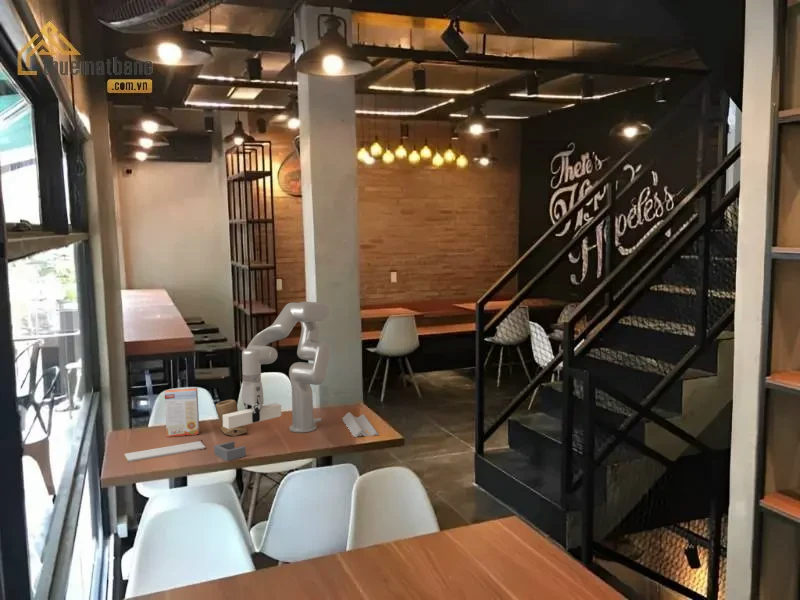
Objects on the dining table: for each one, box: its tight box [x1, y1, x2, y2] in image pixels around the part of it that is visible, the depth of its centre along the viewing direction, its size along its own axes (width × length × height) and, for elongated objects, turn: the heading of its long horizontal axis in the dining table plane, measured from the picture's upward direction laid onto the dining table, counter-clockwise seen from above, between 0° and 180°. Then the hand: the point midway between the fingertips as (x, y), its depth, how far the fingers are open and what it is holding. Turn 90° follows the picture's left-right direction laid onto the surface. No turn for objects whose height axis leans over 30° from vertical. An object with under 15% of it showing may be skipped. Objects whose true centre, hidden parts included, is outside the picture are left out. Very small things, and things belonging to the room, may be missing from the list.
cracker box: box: [164, 387, 200, 438], centre depth 301 cm, size 14×6×21 cm, turn 103°
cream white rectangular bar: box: [223, 402, 282, 429], centre depth 278 cm, size 26×4×5 cm, turn 136°
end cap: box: [213, 440, 247, 462], centre depth 272 cm, size 8×10×4 cm
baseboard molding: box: [123, 439, 206, 463], centre depth 278 cm, size 31×3×12 cm
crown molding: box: [341, 411, 380, 438], centre depth 312 cm, size 31×12×4 cm, turn 15°
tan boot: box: [215, 399, 247, 437], centre depth 303 cm, size 15×12×15 cm
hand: (252, 419), depth 279 cm, fingers closed on cream white rectangular bar, 4 cm apart
